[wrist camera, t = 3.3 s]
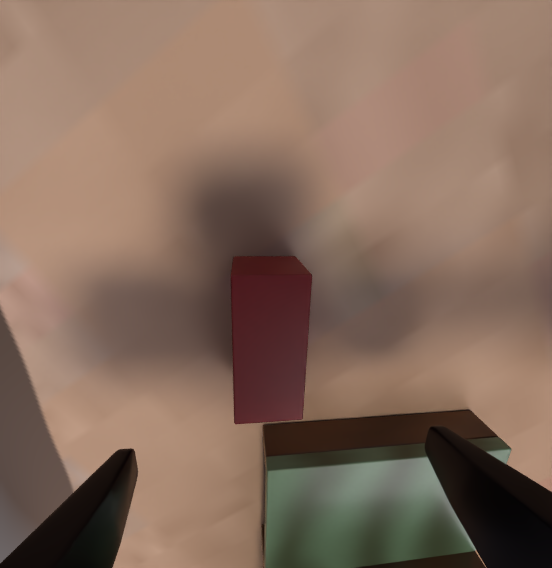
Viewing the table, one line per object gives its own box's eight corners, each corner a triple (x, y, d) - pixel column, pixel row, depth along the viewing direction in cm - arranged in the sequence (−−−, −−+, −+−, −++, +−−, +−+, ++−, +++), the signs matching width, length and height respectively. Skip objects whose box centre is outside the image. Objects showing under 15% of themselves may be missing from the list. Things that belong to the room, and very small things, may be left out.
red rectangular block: (295, 256, 16) (312, 274, 12) (290, 374, 18) (303, 420, 15) (233, 255, 16) (230, 275, 12) (235, 377, 18) (234, 425, 14)
